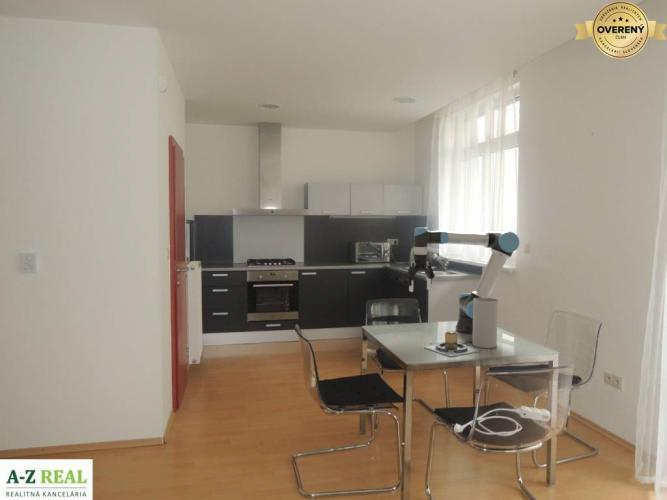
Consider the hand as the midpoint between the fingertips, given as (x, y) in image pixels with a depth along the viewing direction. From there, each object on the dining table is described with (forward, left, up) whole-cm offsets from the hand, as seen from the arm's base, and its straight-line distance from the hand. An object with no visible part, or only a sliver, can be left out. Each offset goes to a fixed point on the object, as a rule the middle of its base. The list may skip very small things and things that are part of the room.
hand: (420, 290), depth 287 cm
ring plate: (+6, +33, -26) cm, 42 cm away
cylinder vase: (-16, +35, -27) cm, 47 cm away
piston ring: (+6, +33, -26) cm, 42 cm away
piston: (+6, +32, -26) cm, 42 cm away
